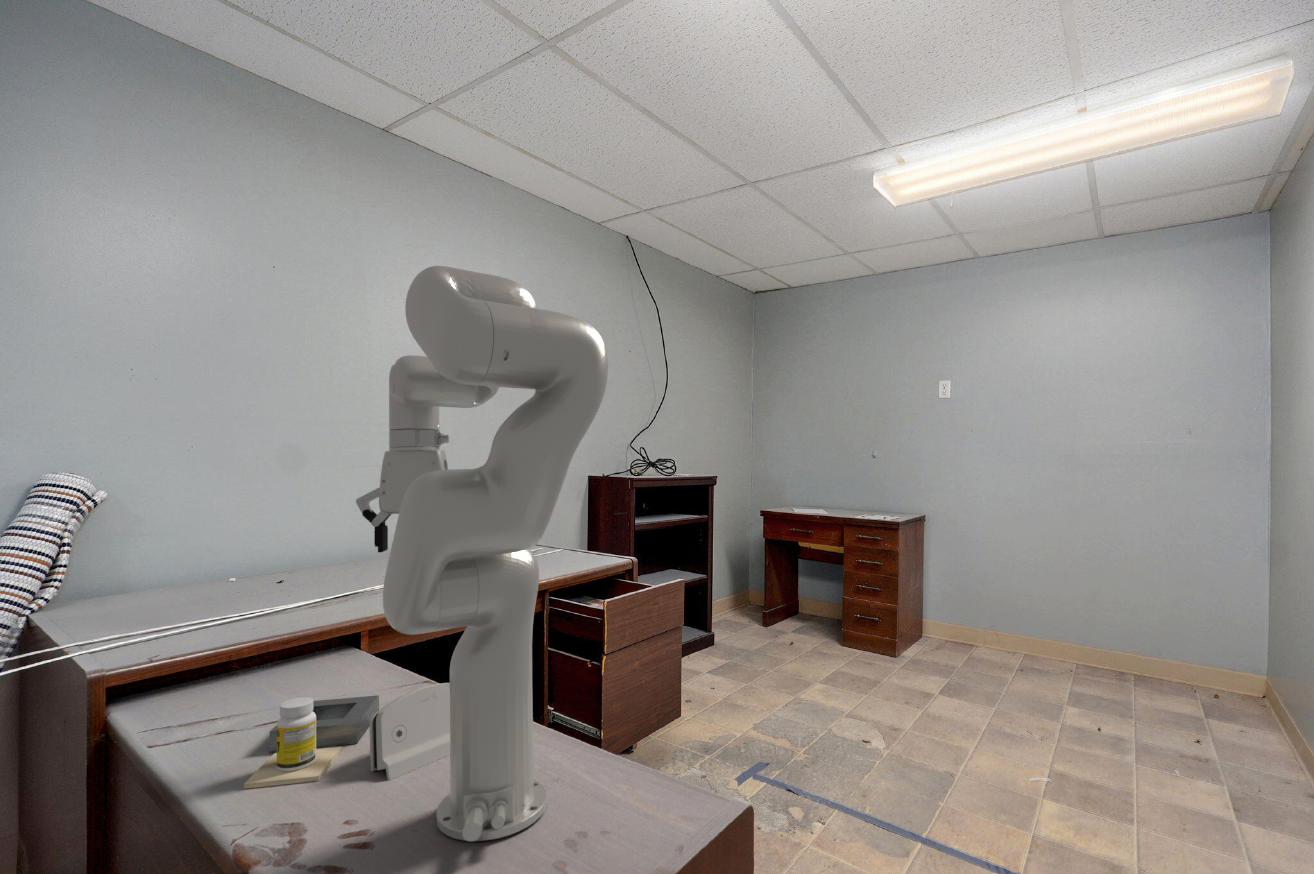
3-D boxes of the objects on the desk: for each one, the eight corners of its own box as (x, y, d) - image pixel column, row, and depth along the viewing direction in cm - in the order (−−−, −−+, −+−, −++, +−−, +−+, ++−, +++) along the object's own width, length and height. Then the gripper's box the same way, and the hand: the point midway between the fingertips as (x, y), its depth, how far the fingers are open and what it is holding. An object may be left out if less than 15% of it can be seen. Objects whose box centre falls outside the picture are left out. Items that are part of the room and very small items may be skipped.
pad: (318, 780, 80) (318, 776, 80) (243, 788, 79) (243, 784, 79) (341, 750, 89) (341, 746, 89) (274, 757, 87) (274, 753, 87)
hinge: (387, 781, 79) (374, 702, 82) (370, 784, 82) (359, 707, 85) (494, 736, 92) (480, 669, 95) (476, 739, 95) (463, 674, 98)
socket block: (356, 743, 91) (356, 723, 91) (269, 752, 89) (269, 731, 89) (378, 713, 103) (379, 695, 103) (302, 720, 101) (302, 701, 101)
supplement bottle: (282, 759, 85) (282, 698, 86) (319, 754, 87) (320, 693, 87) (271, 775, 81) (272, 710, 81) (311, 769, 82) (311, 705, 83)
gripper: (473, 442, 103) (474, 544, 102) (364, 444, 100) (364, 549, 98) (467, 440, 95) (468, 549, 94) (349, 442, 92) (349, 555, 91)
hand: (415, 549), depth 96 cm, fingers open, 9 cm apart
